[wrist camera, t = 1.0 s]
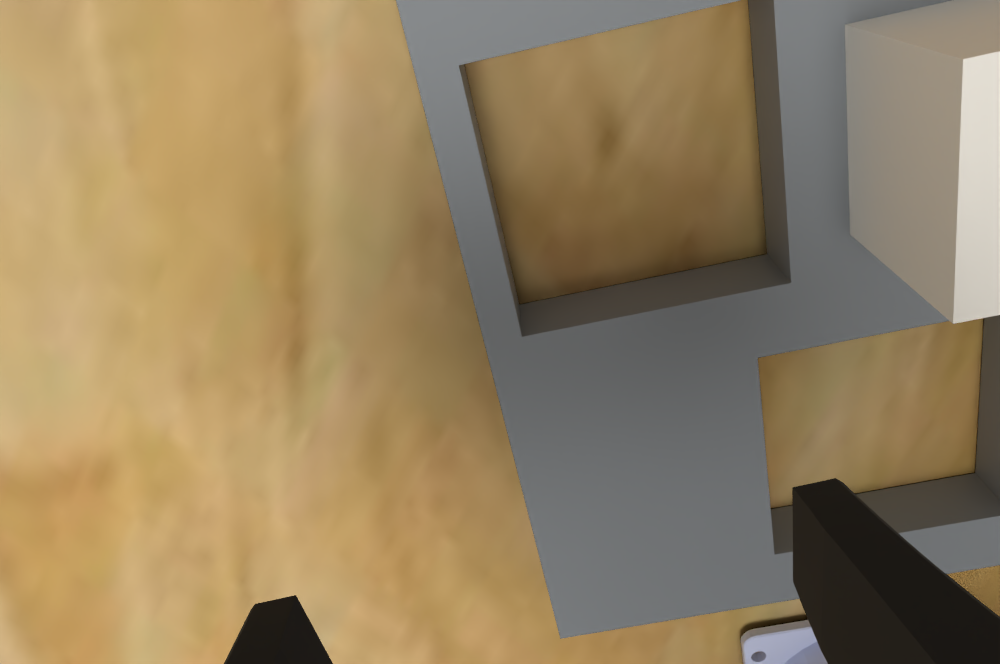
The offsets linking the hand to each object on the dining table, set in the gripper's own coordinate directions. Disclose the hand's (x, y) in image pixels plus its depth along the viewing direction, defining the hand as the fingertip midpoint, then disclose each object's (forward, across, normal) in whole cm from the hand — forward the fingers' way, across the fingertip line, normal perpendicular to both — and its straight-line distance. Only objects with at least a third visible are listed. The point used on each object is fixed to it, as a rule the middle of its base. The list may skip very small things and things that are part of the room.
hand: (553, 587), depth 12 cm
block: (+10, -11, -1) cm, 15 cm away
